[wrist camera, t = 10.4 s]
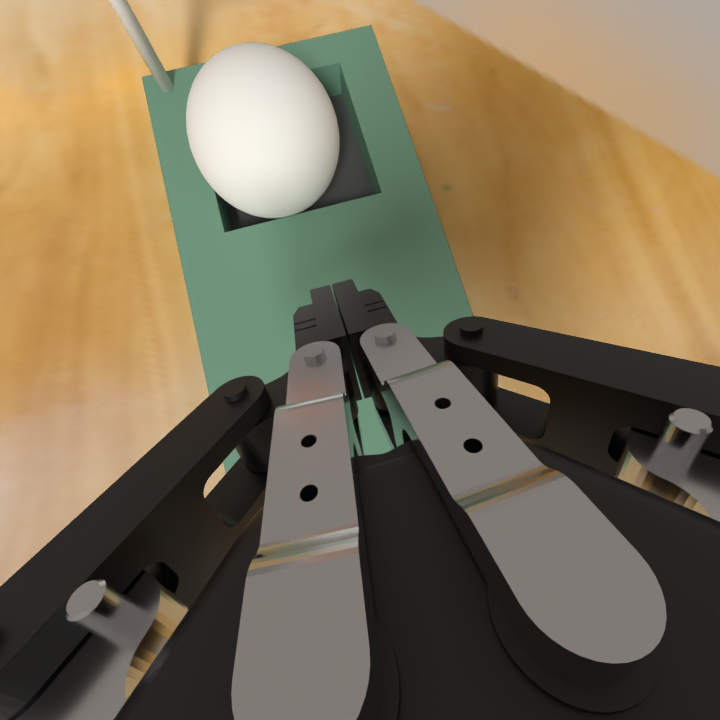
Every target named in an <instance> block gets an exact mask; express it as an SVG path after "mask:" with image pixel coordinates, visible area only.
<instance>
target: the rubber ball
mask: <svg viewBox="0 0 720 720" xmlns="http://www.w3.org/2000/svg"><path fill="white" fill-rule="evenodd" d="M186 130H187V135H188V140H189V145H190V149H191V151H192V154H193V157H194V159H195V162H196V164H197V166H198V168H199V170H200V171H201V173H202V175H203V176H204V178H205V179H206V181H207V182H208V183H209V185H210V186H211V187H212V188H213V189H214V191H215V192H216V193H217V194H218V195H220V196H221V197H222V198H223V199H224V200H225V201H227V202H228V203H229V204H231V205H232V206H234V207H235V208H237V209H239V210H241V211H243V212H246V213H248V214H251V215H254V216H258V217H263V218H284V217H288V216H292V215H295V214H298V213H300V212H302V211H304V210H306V209H307V208H309V207H310V206H312V205H313V204H314V203H315V202H316V201H317V200H318V199H319V198H320V197H321V196H322V195H323V194H324V192H325V191H326V189H327V188H328V186H329V184H330V182H331V180H332V178H333V176H334V173H335V170H336V166H337V163H338V157H339V148H340V139H339V128H338V123H337V118H336V114H335V111H334V108H333V105H332V103H331V100H330V98H329V96H328V94H327V92H326V90H325V89H324V87H323V85H322V84H321V82H320V81H319V80H318V78H317V77H316V76H315V74H314V73H313V72H312V71H311V70H310V69H309V68H308V67H307V66H306V65H305V64H304V63H303V62H302V61H301V60H299V59H298V58H296V57H295V56H293V55H292V54H290V53H289V52H287V51H285V50H283V49H280V48H278V47H275V46H272V45H269V44H265V43H252V42H248V43H240V44H235V45H232V46H229V47H227V48H225V49H223V50H221V51H219V52H218V53H216V54H215V55H214V56H213V57H211V58H210V59H209V60H208V61H207V62H206V63H205V64H204V65H203V67H202V68H201V69H200V71H199V73H198V74H197V76H196V77H195V79H194V81H193V84H192V86H191V90H190V93H189V96H188V101H187V109H186Z"/></svg>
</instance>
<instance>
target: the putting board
mask: <svg viewBox="0 0 720 720" xmlns="http://www.w3.org/2000/svg"><path fill="white" fill-rule="evenodd" d="M108 1H109V3H110V4H111V6H112V8H113V9H114V11H115V13H116V14H117V16H118V18H119V19H120V21H121V23H122V24H123V26H124V28H125V30H126V31H127V33H128V35H129V36H130V38H131V40H132V41H133V43H134V45H135V46H136V48H137V50H138V52H139V53H140V55H141V57H142V58H143V60H144V62H145V63H146V65H147V67H148V68H149V70H150V72H151V73H152V75H148V76H144V77H142V80H143V85H144V90H145V94H146V99H147V104H148V108H149V113H150V118H151V123H152V127H153V132H154V137H155V142H156V146H157V151H158V156H159V160H160V165H161V170H162V175H163V179H164V184H165V189H166V193H167V198H168V203H169V208H170V212H171V217H172V222H173V226H174V231H175V236H176V241H177V245H178V250H179V255H180V259H181V264H182V269H183V274H184V278H185V283H186V288H187V293H188V297H189V302H190V307H191V311H192V316H193V321H194V326H195V330H196V335H197V340H198V344H199V349H200V354H201V359H202V363H203V368H204V373H205V377H206V382H207V387H208V392H209V396H210V395H211V394H212V393H213V392H214V391H215V390H216V389H218V388H219V387H220V386H221V385H223V384H224V383H226V382H228V381H230V380H232V379H235V378H238V377H242V376H256V377H259V378H260V379H261V380H262V381H263V383H264V385H265V384H267V383H269V382H272V381H274V380H276V379H277V378H279V377H281V376H283V375H284V374H285V373H287V372H288V371H289V361H290V358H291V356H292V355H293V353H294V352H295V351H296V347H295V334H294V332H295V331H294V322H293V315H294V314H295V312H296V310H297V309H298V307H302V306H305V305H309V304H312V300H311V294H310V290H311V289H315V288H319V287H322V286H326V285H330V286H331V289H332V292H333V288H332V284H334V283H337V282H341V281H345V280H349V279H353V282H354V284H355V286H356V288H357V290H358V291H362V290H366V289H370V288H371V289H373V290H375V291H377V292H379V293H380V294H381V296H382V297H383V299H384V301H385V302H386V304H387V306H388V308H389V309H390V311H391V313H392V314H393V316H394V318H395V319H396V321H397V323H398V324H401V325H404V326H406V327H408V328H409V329H410V331H411V332H412V333H413V334H414V336H416V337H441V336H443V330H444V328H445V326H446V325H447V324H448V323H450V322H451V321H453V320H456V319H459V318H463V317H471V316H473V314H472V311H471V308H470V305H469V302H468V299H467V296H466V294H465V291H464V288H463V285H462V282H461V279H460V277H459V274H458V271H457V268H456V265H455V262H454V259H453V257H452V254H451V251H450V248H449V245H448V242H447V239H446V237H445V234H444V231H443V228H442V225H441V222H440V220H439V217H438V214H437V211H436V208H435V205H434V202H433V200H432V197H431V194H430V191H429V188H428V185H427V183H426V180H425V177H424V174H423V171H422V168H421V165H420V163H419V160H418V157H417V154H416V151H415V148H414V145H413V143H412V140H411V137H410V134H409V131H408V128H407V126H406V123H405V120H404V117H403V114H402V111H401V108H400V106H399V103H398V100H397V97H396V94H395V91H394V89H393V86H392V83H391V80H390V77H389V74H388V71H387V69H386V66H385V63H384V60H383V57H382V54H381V51H380V49H379V46H378V43H377V40H376V37H375V34H374V32H373V29H372V26H371V25H369V26H365V27H360V28H356V29H351V30H347V31H343V32H338V33H334V34H329V35H325V36H321V37H316V38H312V39H307V40H303V41H299V42H294V43H290V44H285V45H281V46H276V47H278V48H280V49H283V50H285V51H287V52H289V53H290V54H292V55H293V56H295V57H296V58H298V59H299V60H301V61H302V62H303V63H304V64H305V65H306V66H307V67H308V68H309V69H310V70H311V71H312V72H313V73H314V74H315V76H316V77H317V78H318V80H319V81H320V82H321V84H322V85H323V87H324V89H325V90H326V92H327V94H328V96H329V98H330V100H331V103H332V105H333V108H334V111H335V114H336V118H337V123H338V128H339V139H340V148H339V157H338V163H337V166H336V170H335V173H334V176H333V178H332V180H331V182H330V184H329V186H328V188H327V189H326V191H325V192H324V194H323V195H322V196H321V197H320V198H319V199H318V200H317V201H316V202H315V203H314V204H313V205H312V206H310V207H309V208H307V209H306V210H304V211H302V212H300V213H298V214H295V215H292V216H288V217H284V218H263V217H258V216H254V215H251V214H248V213H246V212H243V211H241V210H239V209H237V208H235V207H234V206H232V205H231V204H229V203H228V202H227V201H225V200H224V199H223V198H222V197H221V196H220V195H218V194H217V193H216V192H215V191H214V189H213V188H212V187H211V186H210V185H209V183H208V182H207V181H206V179H205V178H204V176H203V175H202V173H201V171H200V170H199V168H198V166H197V164H196V162H195V159H194V157H193V154H192V151H191V149H190V145H189V140H188V135H187V130H186V109H187V101H188V96H189V93H190V90H191V86H192V84H193V81H194V79H195V77H196V76H197V74H198V73H199V71H200V69H201V68H202V67H203V65H204V64H205V63H201V64H197V65H193V66H188V67H184V68H179V69H175V70H170V71H165V69H164V67H163V65H162V64H161V62H160V60H159V58H158V56H157V55H156V53H155V51H154V49H153V47H152V45H151V44H150V42H149V40H148V38H147V36H146V34H145V33H144V31H143V29H142V27H141V25H140V23H139V22H138V20H137V18H136V16H135V14H134V13H133V11H132V9H131V7H130V5H129V3H128V2H127V0H108ZM333 295H334V292H333ZM334 298H335V296H334ZM335 302H336V299H335ZM336 305H337V303H336ZM337 308H338V307H337ZM354 368H355V367H354ZM355 372H356V370H355ZM356 376H357V373H356ZM357 380H358V384H359V388H360V392H361V396H362V400H359V401H357V405H358V409H359V412H358V417H359V421H360V426H361V433H362V439H363V445H364V451H365V455H376V454H383V453H386V452H389V451H391V450H392V449H391V447H390V444H389V442H388V440H387V438H386V436H385V433H384V431H383V429H382V427H381V425H380V422H379V420H378V418H377V415H376V411H375V406H374V402H373V399H372V397H369V398H365V399H364V395H363V392H362V389H361V386H360V383H359V379H358V376H357ZM239 458H240V456H239V454H238V452H237V451H236V449H234V450H233V451H232V452H231V453H230V454H229V455H228V457H227V458H226V459H225V460H224V461H223V462H224V467H225V472H226V473H227V472H228V471H229V470H230V469H231V467H232V466H233V465H234V464H235V463H236V462H237V460H238V459H239Z"/></svg>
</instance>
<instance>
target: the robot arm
mask: <svg viewBox="0 0 720 720" xmlns="http://www.w3.org/2000/svg"><path fill="white" fill-rule="evenodd" d="M332 288H333V292H334V295H333V292H332V289H331V286H330V285H326V286H322V287H319V288H315V289H311V290H310V294H311V300H312V304H309V305H305V306H302V307H298V309H297V310H296V312H295V314H294V315H293V322H294V331H295V332H294V334H295V347H296V351H295V352H294V353H293V355H292V356H291V358H290V361H289V371H288V372H287V373H285V374H284V375H283V376H281V377H279V378H277V379H276V380H274V381H272V382H269V383H267V384H265V385H264V383H263V381H262V380H261V379H260V378H259V377H256V376H242V377H238V378H235V379H232V380H230V381H228V382H226V383H224V384H223V385H221V386H220V387H219V388H218V389H216V390H215V391H214V392H213V393H212V394H211V395H210V396H209V397H208V398H207V399H205V400H204V401H203V402H202V403H201V404H200V405H199V406H198V407H197V408H196V409H195V410H193V411H192V412H191V413H190V414H189V415H188V416H187V417H186V418H185V419H184V420H182V421H181V422H180V423H179V424H178V425H177V426H176V427H175V428H174V429H173V430H171V431H170V432H169V433H168V434H167V435H166V436H165V437H164V438H163V439H162V440H161V441H159V442H158V443H157V444H156V445H155V446H154V447H153V448H152V449H151V450H150V451H148V452H147V453H146V454H145V455H144V456H143V457H142V458H141V459H140V460H139V461H138V462H136V463H135V464H134V465H133V466H132V467H131V468H130V469H129V470H128V471H127V472H125V473H124V474H123V475H122V476H121V477H120V478H119V479H118V480H117V481H116V482H115V483H113V484H112V485H111V486H110V487H109V488H108V489H107V490H106V491H105V492H104V493H102V494H101V495H100V496H99V497H98V498H97V499H96V500H95V501H94V502H93V503H92V504H90V505H89V506H88V507H87V508H86V509H85V510H84V511H83V512H82V513H81V514H79V515H78V516H77V517H76V518H75V519H74V520H73V521H72V522H71V523H70V524H69V525H67V526H66V527H65V528H64V529H63V530H62V531H61V532H60V533H59V534H58V535H56V536H55V537H54V538H53V539H52V540H51V541H50V542H49V543H48V544H47V545H46V546H44V547H43V548H42V549H41V550H40V551H39V552H38V553H37V554H36V555H35V556H33V557H32V558H31V559H30V560H29V561H28V562H27V563H26V564H25V565H24V566H23V567H21V568H20V569H19V570H18V571H17V572H16V573H15V574H14V575H13V576H12V577H10V578H9V579H8V580H7V581H6V582H5V583H4V584H3V585H2V586H1V587H0V720H720V367H718V366H713V365H708V364H703V363H699V362H694V361H689V360H684V359H679V358H675V357H670V356H665V355H660V354H656V353H651V352H646V351H641V350H637V349H632V348H627V347H622V346H617V345H613V344H608V343H603V342H598V341H594V340H589V339H584V338H579V337H575V336H570V335H565V334H560V333H556V332H551V331H546V330H541V329H536V328H532V327H527V326H522V325H517V324H513V323H508V322H503V321H498V320H494V319H489V318H484V317H476V316H471V317H463V318H459V319H456V320H453V321H451V322H450V323H448V324H447V325H446V326H445V328H444V330H443V336H441V337H416V336H414V334H413V333H412V332H411V331H410V329H409V328H408V327H406V326H404V325H401V324H398V323H397V321H396V319H395V318H394V316H393V314H392V313H391V311H390V309H389V308H388V306H387V304H386V302H385V301H384V299H383V297H382V296H381V294H380V293H379V292H377V291H375V290H373V289H371V288H370V289H366V290H362V291H358V290H357V288H356V286H355V284H354V282H353V279H349V280H345V281H341V282H337V283H334V284H332ZM334 296H335V298H334ZM335 299H336V302H335ZM336 303H337V305H336ZM337 307H338V308H337ZM354 367H355V368H354ZM355 370H356V372H355ZM356 373H357V376H358V379H359V383H360V386H361V389H362V392H363V395H364V399H365V398H369V397H372V399H373V402H374V406H375V411H376V415H377V418H378V420H379V422H380V425H381V427H382V429H383V431H384V433H385V436H386V438H387V440H388V442H389V444H390V447H391V449H392V450H391V451H389V452H386V453H383V454H376V455H365V451H364V445H363V439H362V433H361V426H360V421H359V417H358V412H359V409H358V405H357V401H359V400H362V396H361V392H360V388H359V384H358V380H357V376H356ZM498 374H499V375H503V376H506V377H509V378H513V379H516V380H519V381H523V382H526V383H529V384H532V385H535V386H538V387H540V388H542V389H543V390H544V391H545V392H546V393H547V394H548V395H549V397H550V404H548V403H545V402H542V401H539V400H536V399H533V398H530V397H527V396H524V395H521V394H518V393H515V392H512V391H508V390H505V389H502V388H499V387H498ZM234 449H236V451H237V452H238V454H239V456H240V458H239V459H238V460H237V462H236V463H235V464H234V465H233V466H232V467H231V469H230V470H229V471H228V472H227V473H226V474H225V476H224V477H223V478H222V479H221V480H220V481H219V483H218V484H217V485H216V486H215V487H214V488H213V490H212V491H211V492H210V493H209V494H208V495H207V497H206V498H204V494H203V492H204V487H205V484H206V482H207V480H208V478H209V477H210V476H211V475H212V473H213V472H214V471H215V470H216V469H217V468H218V467H219V466H220V464H221V463H222V462H223V461H224V460H225V459H226V458H227V457H228V455H229V454H230V453H231V452H232V451H233V450H234Z"/></svg>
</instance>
